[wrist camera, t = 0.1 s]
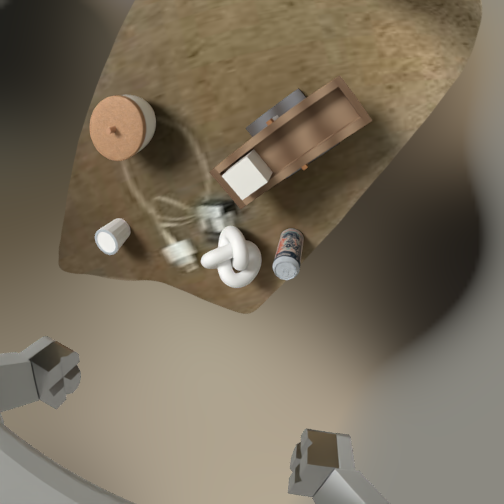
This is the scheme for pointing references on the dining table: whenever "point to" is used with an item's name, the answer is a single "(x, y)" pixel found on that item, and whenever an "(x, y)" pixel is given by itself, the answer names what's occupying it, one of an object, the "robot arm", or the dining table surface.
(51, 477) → the robot arm
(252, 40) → the dining table surface
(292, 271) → the beer can
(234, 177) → the white block
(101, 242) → the shot glass
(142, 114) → the lidded bowl
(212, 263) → the white knot sculpture
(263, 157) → the brown wooden tray
